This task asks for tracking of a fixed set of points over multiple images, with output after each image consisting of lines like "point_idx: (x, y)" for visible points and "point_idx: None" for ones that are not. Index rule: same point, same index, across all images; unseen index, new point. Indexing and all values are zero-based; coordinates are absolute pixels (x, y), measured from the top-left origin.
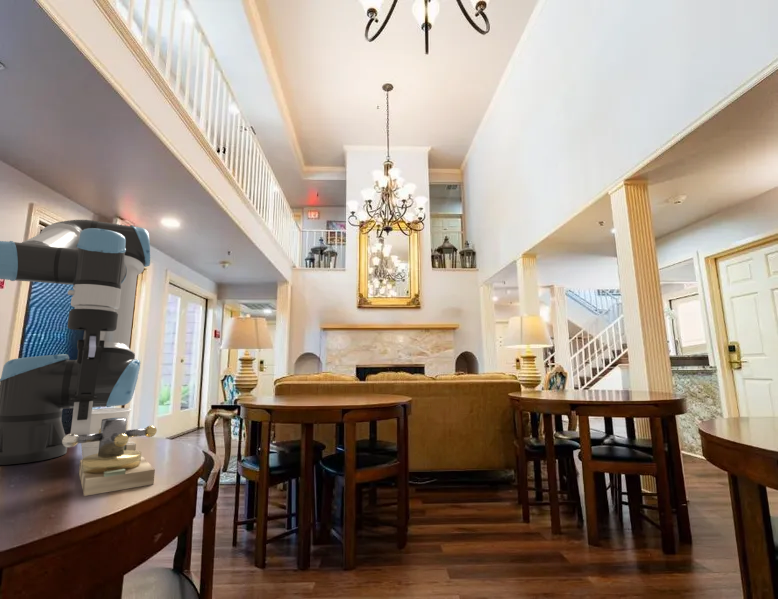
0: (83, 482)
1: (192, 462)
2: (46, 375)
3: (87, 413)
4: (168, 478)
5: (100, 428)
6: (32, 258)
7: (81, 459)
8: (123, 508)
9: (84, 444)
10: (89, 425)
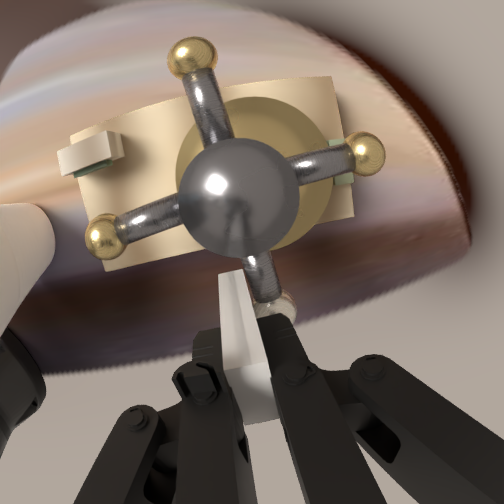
0: None
1: (136, 13)
2: None
3: (292, 328)
4: (281, 53)
5: (106, 259)
6: None
7: (105, 269)
8: (432, 147)
9: (31, 287)
10: (247, 291)
